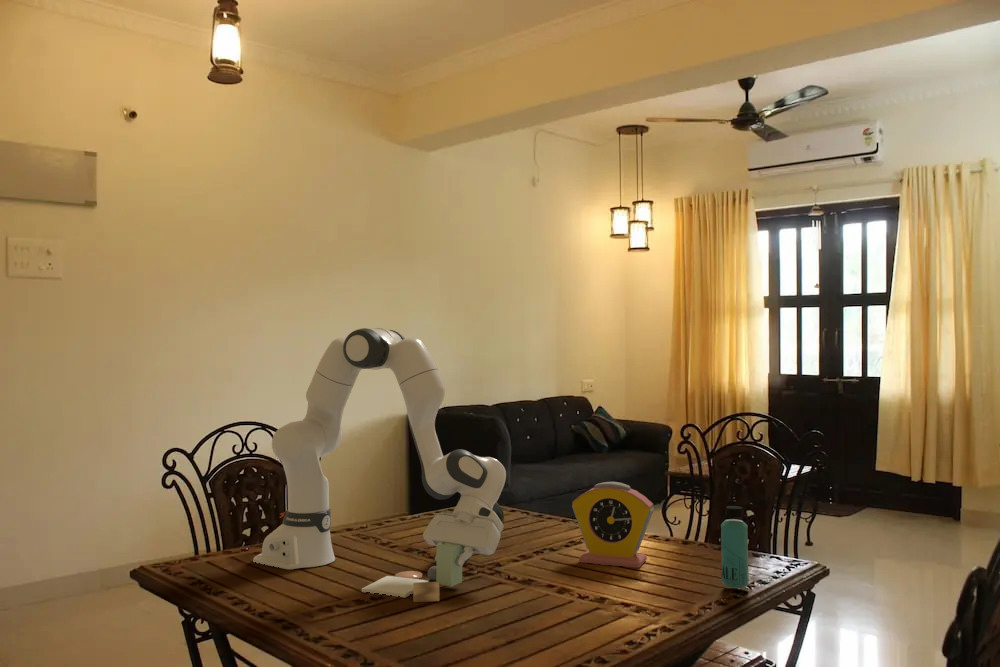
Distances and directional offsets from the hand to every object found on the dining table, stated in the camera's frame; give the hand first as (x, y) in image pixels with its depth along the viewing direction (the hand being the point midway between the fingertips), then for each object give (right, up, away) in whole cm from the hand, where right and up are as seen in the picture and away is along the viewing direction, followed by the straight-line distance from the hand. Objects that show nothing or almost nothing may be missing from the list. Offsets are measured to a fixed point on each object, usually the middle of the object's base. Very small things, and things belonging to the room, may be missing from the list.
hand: (447, 563), depth 199 cm
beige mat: (-13, -6, +2) cm, 14 cm away
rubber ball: (-4, -5, +8) cm, 10 cm away
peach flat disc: (-11, -7, +12) cm, 17 cm away
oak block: (-5, -6, -7) cm, 11 cm away
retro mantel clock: (+43, -7, +25) cm, 50 cm away
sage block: (0, -5, 0) cm, 5 cm away
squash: (+7, -8, +53) cm, 54 cm away
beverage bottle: (+69, -6, -2) cm, 69 cm away
